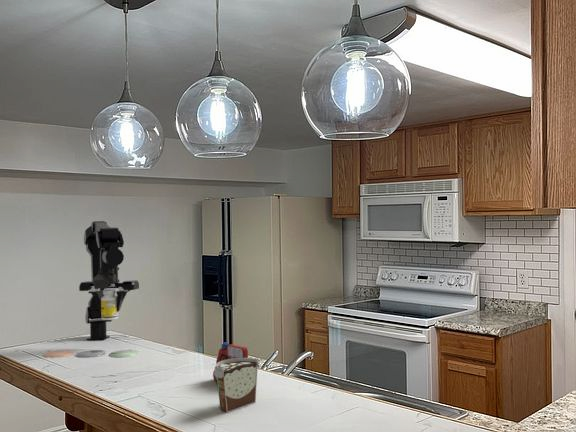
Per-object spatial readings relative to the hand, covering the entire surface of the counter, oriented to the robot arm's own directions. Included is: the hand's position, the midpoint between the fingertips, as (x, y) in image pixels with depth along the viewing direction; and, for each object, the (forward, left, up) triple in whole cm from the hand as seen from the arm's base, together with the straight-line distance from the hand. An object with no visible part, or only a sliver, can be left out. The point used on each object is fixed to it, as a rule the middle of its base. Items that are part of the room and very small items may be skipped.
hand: (109, 311), depth 199 cm
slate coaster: (+6, -4, -13) cm, 15 cm away
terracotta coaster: (+6, -15, -13) cm, 21 cm away
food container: (+59, +51, -13) cm, 79 cm away
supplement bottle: (0, 0, -3) cm, 3 cm away
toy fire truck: (+40, +48, -13) cm, 64 cm away
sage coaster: (+6, +7, -13) cm, 16 cm away
